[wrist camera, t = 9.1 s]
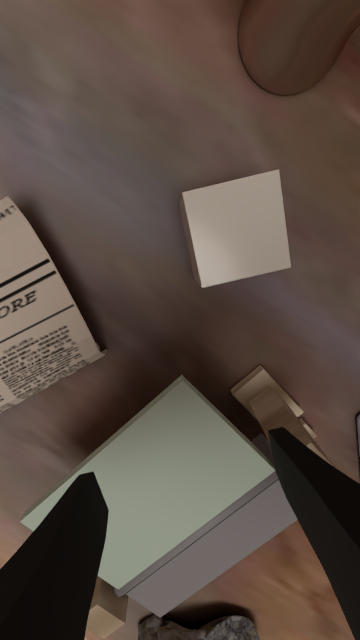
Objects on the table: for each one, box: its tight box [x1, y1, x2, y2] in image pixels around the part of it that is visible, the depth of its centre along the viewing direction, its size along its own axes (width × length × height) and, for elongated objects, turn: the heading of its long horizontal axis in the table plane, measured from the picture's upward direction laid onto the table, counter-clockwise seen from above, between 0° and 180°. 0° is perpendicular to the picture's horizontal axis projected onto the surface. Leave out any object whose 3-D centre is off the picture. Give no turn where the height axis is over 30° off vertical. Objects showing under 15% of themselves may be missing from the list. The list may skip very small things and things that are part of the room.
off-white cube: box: [179, 169, 291, 288], centre depth 17 cm, size 5×5×5 cm
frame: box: [86, 365, 333, 639], centre depth 20 cm, size 8×19×7 cm, turn 133°
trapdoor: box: [20, 375, 298, 618], centre depth 19 cm, size 12×14×4 cm
